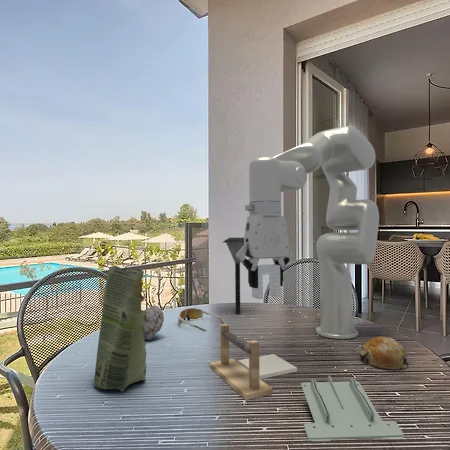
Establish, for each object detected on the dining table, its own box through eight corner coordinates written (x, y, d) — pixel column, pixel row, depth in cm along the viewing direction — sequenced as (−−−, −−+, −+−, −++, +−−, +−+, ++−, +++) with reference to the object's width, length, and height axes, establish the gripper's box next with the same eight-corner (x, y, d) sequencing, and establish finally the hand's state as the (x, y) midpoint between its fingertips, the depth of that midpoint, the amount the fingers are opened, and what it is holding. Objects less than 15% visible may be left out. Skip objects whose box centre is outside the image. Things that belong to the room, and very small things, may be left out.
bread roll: (396, 388, 77) (412, 359, 76) (352, 361, 82) (367, 333, 81) (400, 373, 86) (415, 346, 84) (360, 349, 91) (374, 323, 89)
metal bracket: (289, 371, 64) (368, 370, 65) (288, 397, 66) (364, 395, 67) (311, 436, 51) (410, 433, 51) (308, 467, 52) (405, 464, 53)
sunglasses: (196, 317, 130) (198, 304, 129) (228, 329, 121) (230, 316, 121) (169, 326, 118) (171, 311, 118) (203, 340, 109) (204, 324, 109)
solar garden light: (259, 313, 135) (259, 237, 135) (239, 319, 126) (238, 237, 127) (236, 309, 143) (236, 237, 144) (215, 314, 134) (215, 237, 135)
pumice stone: (159, 333, 109) (158, 301, 109) (168, 339, 102) (168, 306, 102) (126, 338, 103) (126, 305, 104) (134, 345, 97) (134, 310, 97)
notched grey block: (273, 294, 84) (273, 264, 84) (280, 296, 81) (280, 265, 81) (252, 296, 81) (251, 265, 81) (258, 299, 78) (258, 266, 79)
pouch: (104, 371, 79) (105, 262, 79) (156, 372, 78) (156, 262, 79) (83, 394, 67) (84, 267, 68) (143, 395, 67) (143, 267, 68)
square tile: (273, 357, 87) (273, 354, 87) (297, 371, 78) (297, 367, 78) (238, 363, 83) (238, 360, 83) (259, 379, 74) (259, 375, 74)
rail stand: (210, 366, 81) (209, 324, 81) (232, 362, 84) (232, 321, 84) (245, 400, 65) (245, 346, 65) (272, 393, 67) (272, 342, 67)
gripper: (240, 208, 75) (240, 291, 74) (304, 210, 82) (305, 286, 81) (225, 210, 81) (226, 286, 81) (286, 212, 89) (287, 282, 88)
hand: (266, 285), depth 81 cm, fingers closed on notched grey block, 6 cm apart
